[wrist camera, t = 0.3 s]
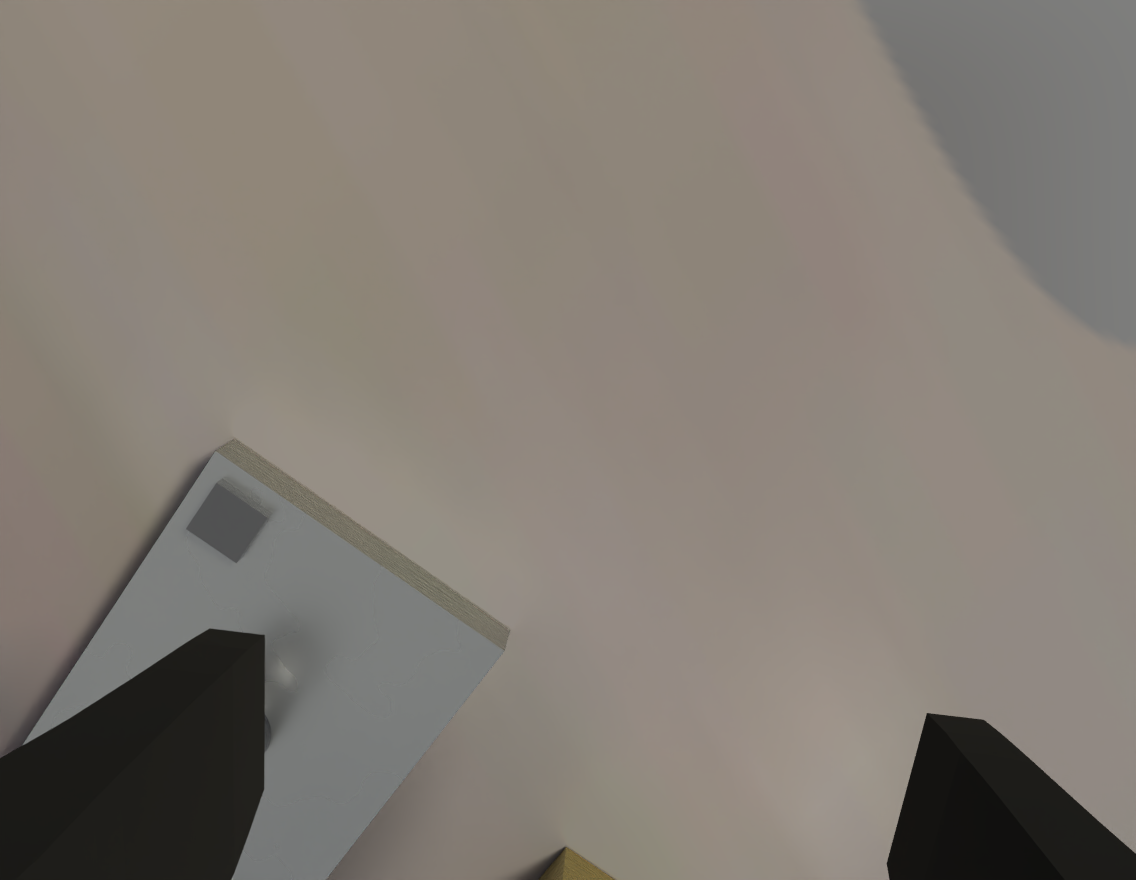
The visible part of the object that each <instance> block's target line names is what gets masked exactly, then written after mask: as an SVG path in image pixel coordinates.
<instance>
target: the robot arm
mask: <svg viewBox="0 0 1136 880" xmlns="http://www.w3.org/2000/svg"><path fill="white" fill-rule="evenodd" d="M264 751H265V635H261V634H253V633H244V632H236V631H227V630H219V629H211V628H209V629H208V630H206V631H204V632H203V633H201V634H199V635H198V636H196V637H194V638H193V639H191V640H190V641H188V642H186V643H185V644H183V645H182V646H180V647H179V648H177V649H176V650H174V651H173V652H171V653H170V654H168V655H167V656H165V657H164V658H162V659H161V660H159V661H157V662H156V663H154V664H153V665H151V666H150V667H148V668H147V669H145V670H144V671H142V672H141V673H139V674H138V675H136V676H135V677H133V678H132V679H130V680H129V681H127V682H126V683H124V684H122V685H121V686H119V687H118V688H116V689H115V690H113V691H112V692H110V693H108V694H107V695H105V696H104V697H102V698H101V699H99V700H97V701H96V702H94V703H93V704H91V705H90V706H88V707H86V708H85V709H83V710H82V711H80V712H79V713H77V714H76V715H74V716H72V717H71V718H69V719H67V720H66V721H64V722H62V723H61V724H59V725H57V726H56V727H54V728H52V729H50V730H49V731H47V732H45V733H43V734H42V735H40V736H38V737H37V738H35V739H33V740H31V741H30V742H28V743H26V744H24V745H23V746H21V747H19V748H17V749H16V750H14V751H12V752H11V753H9V754H7V755H5V756H4V757H2V758H0V880H231V879H232V877H233V875H234V873H235V870H236V867H237V864H238V862H239V859H240V856H241V854H242V851H243V848H244V846H245V843H246V840H247V837H248V835H249V832H250V829H251V826H252V823H253V820H254V817H255V815H256V812H257V809H258V806H259V803H260V800H261V797H262V794H263V791H264ZM887 867H888V873H889V879H890V880H1136V854H1135V853H1134V852H1133V851H1132V850H1131V849H1130V848H1128V847H1127V846H1126V845H1125V844H1124V843H1123V842H1122V841H1120V840H1119V839H1118V838H1117V837H1116V836H1115V835H1114V834H1112V833H1111V832H1110V831H1109V830H1108V829H1107V828H1106V827H1105V826H1103V825H1102V824H1101V823H1100V822H1099V821H1098V820H1097V819H1096V818H1094V817H1093V816H1092V815H1091V814H1090V813H1089V812H1088V811H1087V810H1086V809H1084V808H1083V807H1082V806H1081V805H1080V804H1079V803H1078V802H1077V801H1076V800H1074V799H1073V798H1072V797H1071V796H1070V795H1069V794H1068V793H1067V792H1066V791H1065V790H1063V789H1062V788H1061V787H1060V786H1059V785H1058V784H1057V783H1056V782H1055V781H1054V780H1052V779H1051V778H1050V777H1049V776H1048V775H1047V774H1046V773H1045V772H1044V771H1043V770H1041V769H1040V768H1039V767H1038V766H1037V765H1036V764H1035V763H1034V762H1033V761H1031V760H1030V759H1029V758H1028V757H1027V756H1026V755H1025V754H1024V753H1023V752H1021V751H1020V750H1019V749H1018V748H1017V747H1016V746H1015V745H1014V744H1012V743H1011V742H1010V741H1009V740H1008V739H1007V738H1005V737H1004V736H1003V735H1002V734H1001V733H1000V732H998V731H997V730H996V729H995V728H993V727H992V726H991V725H990V724H988V723H987V722H986V721H984V720H981V719H972V718H964V717H955V716H947V715H938V714H930V713H927V715H926V719H925V723H924V726H923V730H922V734H921V738H920V741H919V745H918V749H917V753H916V756H915V760H914V764H913V768H912V771H911V775H910V779H909V782H908V786H907V790H906V794H905V797H904V801H903V805H902V809H901V812H900V816H899V820H898V824H897V827H896V831H895V835H894V839H893V842H892V846H891V850H890V853H889V857H888V861H887Z"/></svg>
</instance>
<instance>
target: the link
mask: <svg viewBox="0 0 1136 880" xmlns="http://www.w3.org/2000/svg"><path fill="white" fill-rule="evenodd" d="M539 880H615V879H613V878H612V877H610V876H609V875H607V874H606V873H604V872H603V871H601V870H600V869H598V868H597V867H595V866H594V865H592V864H591V863H589V862H588V861H586V860H585V859H583V858H582V857H580V856H579V855H578V854H576V853H575V852H573V851H572V850H570V849H569V848H567V847H566V848H565V849H564V850H563V851H562V853H561V854H560V855H559V856H558V857H557V858H556V860H555V861H554V862H553V863H552V864H551V865H550V867H549V868H548V869H547V870H546V871H545V873H544V874H543V875H542V876H541V877H540V878H539Z"/></svg>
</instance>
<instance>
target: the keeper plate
mask: <svg viewBox="0 0 1136 880" xmlns="http://www.w3.org/2000/svg"><path fill="white" fill-rule="evenodd" d="M209 628H211V629H219V630H227V631H236V632H244V633H253V634H261V635H265V751H264V791H263V794H262V797H261V800H260V803H259V806H258V809H257V812H256V815H255V817H254V820H253V823H252V826H251V829H250V832H249V835H248V837H247V840H246V843H245V846H244V848H243V851H242V854H241V856H240V859H239V862H238V864H237V867H236V870H235V873H234V875H233V877H232V879H231V880H326V878H327V877H328V876H329V875H330V873H331V872H332V871H333V870H334V868H335V867H336V866H337V864H338V863H339V862H340V861H341V859H342V858H343V857H344V855H345V854H346V853H347V852H348V850H349V849H350V848H351V847H352V845H353V844H354V843H355V841H356V840H357V839H358V838H359V836H360V835H361V834H362V832H363V831H364V830H365V829H366V827H367V826H368V825H369V824H370V822H371V821H372V820H373V818H374V817H375V816H376V815H377V813H378V812H379V811H380V809H381V808H382V807H383V806H384V804H385V803H386V802H387V801H388V799H389V798H390V797H391V795H392V794H393V793H394V792H395V790H396V789H397V788H398V786H399V785H400V784H401V783H402V781H403V780H404V779H405V777H406V776H407V775H408V774H409V772H410V771H411V770H412V769H413V767H414V766H415V765H416V763H417V762H418V761H419V760H420V758H421V757H422V756H423V754H424V753H425V752H426V751H427V749H428V748H429V747H430V746H431V744H432V743H433V742H434V740H435V739H436V738H437V737H438V735H439V734H440V733H441V731H442V730H443V729H444V728H445V726H446V725H447V724H448V723H449V721H450V720H451V719H452V717H453V716H454V715H455V714H456V712H457V711H458V710H459V708H460V707H461V706H462V705H463V703H464V702H465V701H466V700H467V698H468V697H469V696H470V694H471V693H472V692H473V691H474V689H475V688H476V687H477V685H478V684H479V683H480V682H481V680H482V679H483V678H484V677H485V675H486V674H487V673H488V671H489V670H490V669H491V668H492V666H493V665H494V664H495V662H496V661H497V660H498V659H499V657H500V656H501V655H502V654H503V652H504V651H505V647H506V644H507V640H508V637H509V633H510V630H509V629H507V628H506V627H504V626H503V625H502V624H500V623H499V622H497V621H496V620H494V619H493V618H491V617H490V616H489V615H487V614H486V613H484V612H483V611H481V610H480V609H479V608H477V607H476V606H474V605H473V604H471V603H470V602H468V601H467V600H466V599H464V598H463V597H461V596H460V595H458V594H457V593H456V592H454V591H453V590H451V589H450V588H448V587H447V586H445V585H444V584H443V583H441V582H440V581H438V580H437V579H435V578H434V577H432V576H431V575H430V574H428V573H427V572H425V571H424V570H422V569H421V568H420V567H418V566H417V565H415V564H414V563H412V562H411V561H409V560H408V559H407V558H405V557H404V556H402V555H401V554H399V553H398V552H396V551H395V550H394V549H392V548H391V547H389V546H388V545H386V544H385V543H384V542H382V541H381V540H379V539H378V538H376V537H375V536H373V535H372V534H371V533H369V532H368V531H366V530H365V529H363V528H362V527H361V526H359V525H358V524H356V523H355V522H353V521H352V520H350V519H349V518H348V517H346V516H345V515H343V514H342V513H340V512H339V511H337V510H336V509H335V508H333V507H332V506H330V505H329V504H327V503H326V502H325V501H323V500H322V499H320V498H319V497H317V496H316V495H314V494H313V493H312V492H310V491H309V490H307V489H306V488H304V487H303V486H302V485H300V484H299V483H297V482H296V481H294V480H293V479H291V478H290V477H289V476H287V475H286V474H284V473H283V472H281V471H280V470H278V469H277V468H276V467H274V466H273V465H271V464H270V463H268V462H267V461H266V460H264V459H263V458H261V457H260V456H258V455H257V454H255V453H254V452H253V451H251V450H250V449H248V448H247V447H245V446H244V445H243V444H241V443H240V442H238V441H237V440H235V439H233V440H231V441H230V442H228V443H227V444H225V445H224V446H222V447H221V448H219V449H218V450H216V451H215V453H214V454H213V456H212V457H211V459H210V460H209V462H208V463H207V465H206V466H205V468H204V469H203V471H202V473H201V474H200V476H199V477H198V479H197V480H196V482H195V483H194V485H193V486H192V488H191V489H190V491H189V492H188V494H187V495H186V497H185V498H184V500H183V501H182V503H181V504H180V506H179V508H178V509H177V511H176V512H175V514H174V515H173V517H172V518H171V520H170V521H169V523H168V524H167V526H166V527H165V529H164V530H163V532H162V533H161V535H160V536H159V538H158V539H157V541H156V543H155V544H154V546H153V547H152V549H151V550H150V552H149V553H148V555H147V556H146V558H145V559H144V561H143V562H142V564H141V565H140V567H139V568H138V570H137V571H136V573H135V575H134V576H133V578H132V579H131V581H130V582H129V584H128V585H127V587H126V588H125V590H124V591H123V593H122V594H121V596H120V597H119V599H118V600H117V602H116V603H115V605H114V606H113V608H112V610H111V611H110V613H109V614H108V616H107V617H106V619H105V620H104V622H103V623H102V625H101V626H100V628H99V629H98V631H97V632H96V634H95V635H94V637H93V638H92V640H91V642H90V643H89V645H88V646H87V648H86V649H85V651H84V652H83V654H82V655H81V657H80V658H79V660H78V661H77V663H76V664H75V666H74V667H73V669H72V670H71V672H70V673H69V675H68V677H67V678H66V680H65V681H64V683H63V684H62V686H61V687H60V689H59V690H58V692H57V693H56V695H55V696H54V698H53V699H52V701H51V702H50V704H49V705H48V707H47V708H46V710H45V712H44V713H43V715H42V716H41V718H40V719H39V721H38V722H37V724H36V725H35V727H34V728H33V730H32V731H31V733H30V734H29V736H28V737H27V739H26V740H25V742H24V744H26V743H28V742H30V741H31V740H33V739H35V738H37V737H38V736H40V735H42V734H43V733H45V732H47V731H49V730H50V729H52V728H54V727H56V726H57V725H59V724H61V723H62V722H64V721H66V720H67V719H69V718H71V717H72V716H74V715H76V714H77V713H79V712H80V711H82V710H83V709H85V708H86V707H88V706H90V705H91V704H93V703H94V702H96V701H97V700H99V699H101V698H102V697H104V696H105V695H107V694H108V693H110V692H112V691H113V690H115V689H116V688H118V687H119V686H121V685H122V684H124V683H126V682H127V681H129V680H130V679H132V678H133V677H135V676H136V675H138V674H139V673H141V672H142V671H144V670H145V669H147V668H148V667H150V666H151V665H153V664H154V663H156V662H157V661H159V660H161V659H162V658H164V657H165V656H167V655H168V654H170V653H171V652H173V651H174V650H176V649H177V648H179V647H180V646H182V645H183V644H185V643H186V642H188V641H190V640H191V639H193V638H194V637H196V636H198V635H199V634H201V633H203V632H204V631H206V630H208V629H209ZM24 744H23V745H24ZM23 745H22V746H23Z"/></svg>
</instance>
